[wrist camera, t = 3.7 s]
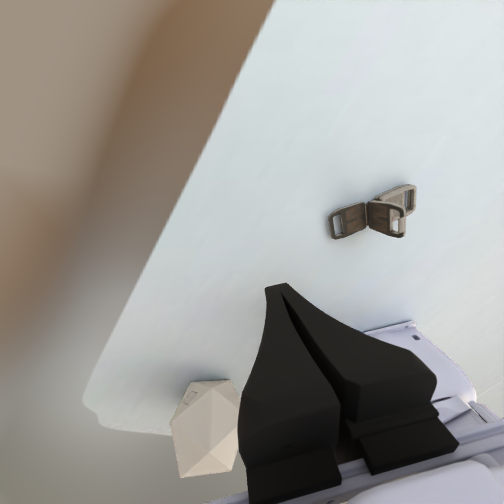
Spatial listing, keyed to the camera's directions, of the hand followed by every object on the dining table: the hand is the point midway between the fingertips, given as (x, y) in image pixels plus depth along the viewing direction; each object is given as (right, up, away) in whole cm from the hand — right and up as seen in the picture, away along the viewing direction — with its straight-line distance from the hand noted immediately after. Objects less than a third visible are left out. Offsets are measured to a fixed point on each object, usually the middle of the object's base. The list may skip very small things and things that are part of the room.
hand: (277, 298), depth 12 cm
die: (-7, -16, +16) cm, 24 cm away
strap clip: (+10, +7, +8) cm, 14 cm away
